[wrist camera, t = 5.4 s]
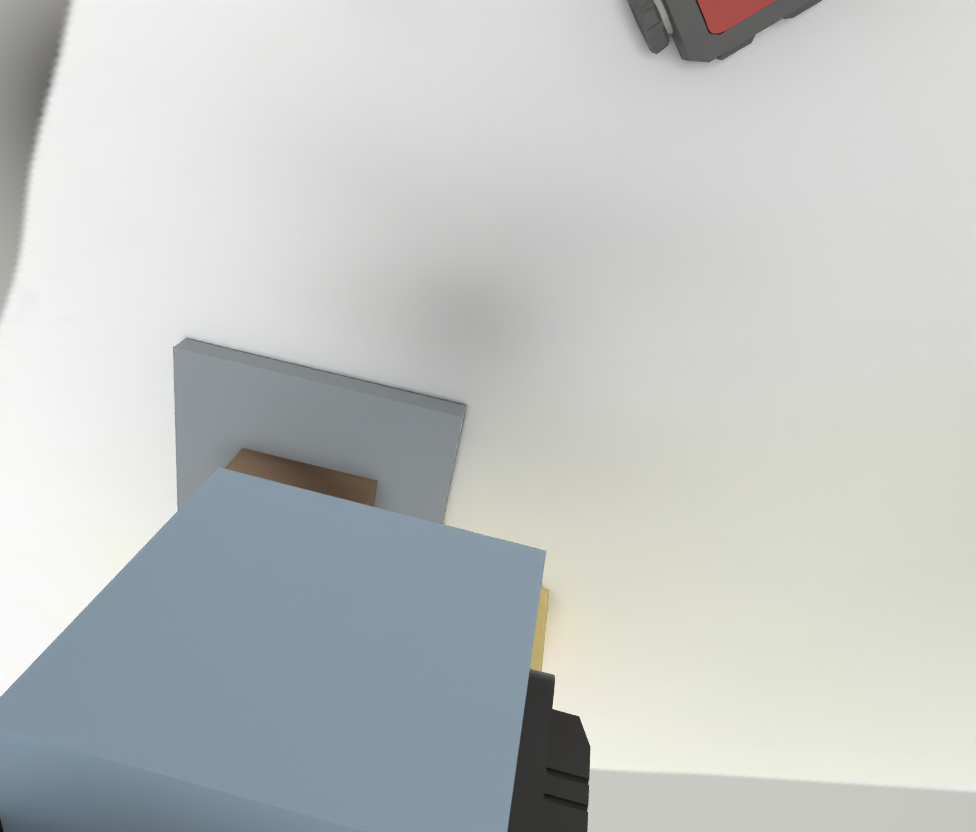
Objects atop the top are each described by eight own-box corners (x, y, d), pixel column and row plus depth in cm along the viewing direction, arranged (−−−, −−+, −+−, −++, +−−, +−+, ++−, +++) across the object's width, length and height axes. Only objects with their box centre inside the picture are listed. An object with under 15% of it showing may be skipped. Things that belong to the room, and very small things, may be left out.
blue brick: (546, 551, 11) (501, 869, 7) (482, 764, 14) (422, 1094, 9) (219, 467, 12) (-23, 722, 7) (218, 692, 14) (40, 980, 10)
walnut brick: (377, 480, 30) (339, 555, 26) (363, 585, 33) (326, 668, 28) (242, 447, 30) (181, 516, 26) (239, 554, 33) (184, 631, 29)
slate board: (466, 405, 29) (462, 417, 28) (418, 644, 36) (413, 659, 35) (186, 338, 29) (173, 347, 28) (190, 587, 36) (180, 601, 35)
